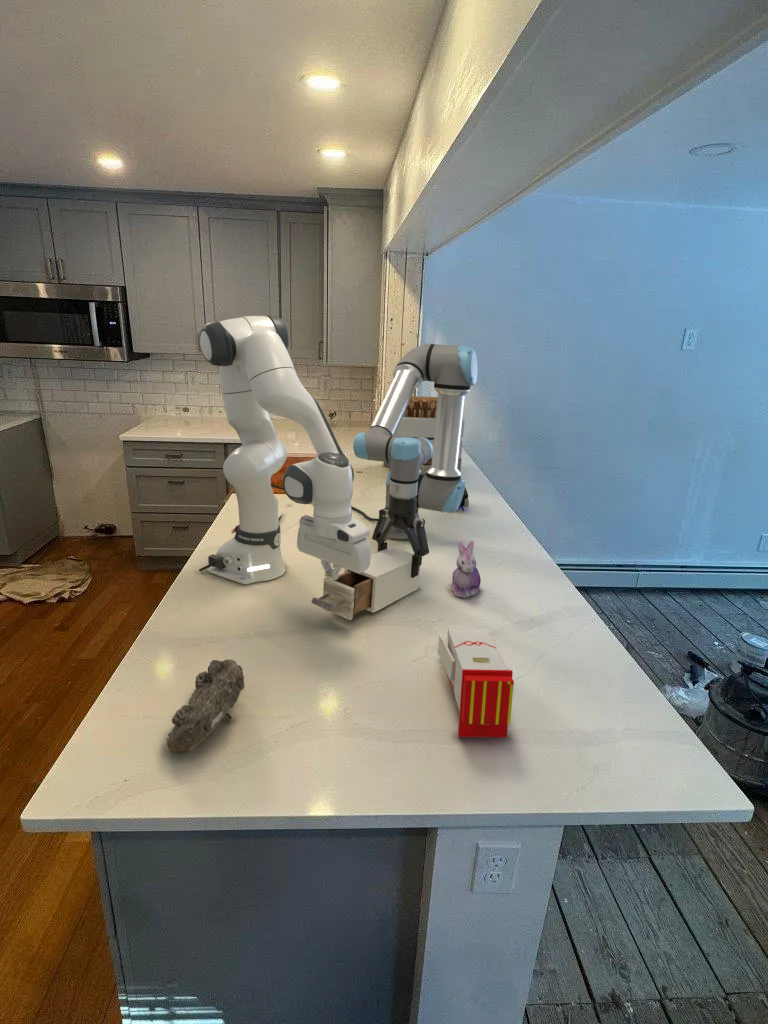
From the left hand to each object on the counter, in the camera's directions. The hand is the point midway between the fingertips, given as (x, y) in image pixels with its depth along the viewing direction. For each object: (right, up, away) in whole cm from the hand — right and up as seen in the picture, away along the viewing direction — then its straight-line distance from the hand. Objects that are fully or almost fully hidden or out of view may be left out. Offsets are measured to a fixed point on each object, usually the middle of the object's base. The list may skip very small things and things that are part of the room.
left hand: (331, 577), depth 135 cm
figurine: (+36, -7, +25) cm, 44 cm away
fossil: (-20, -23, -27) cm, 41 cm away
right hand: (+17, -1, +24) cm, 30 cm away
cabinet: (+12, -7, +20) cm, 25 cm away
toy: (+30, -22, -17) cm, 41 cm away
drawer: (+5, -8, +10) cm, 14 cm away
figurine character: (+43, +18, +94) cm, 105 cm away
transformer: (+30, +35, +139) cm, 147 cm away
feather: (-26, +14, +74) cm, 80 cm away
